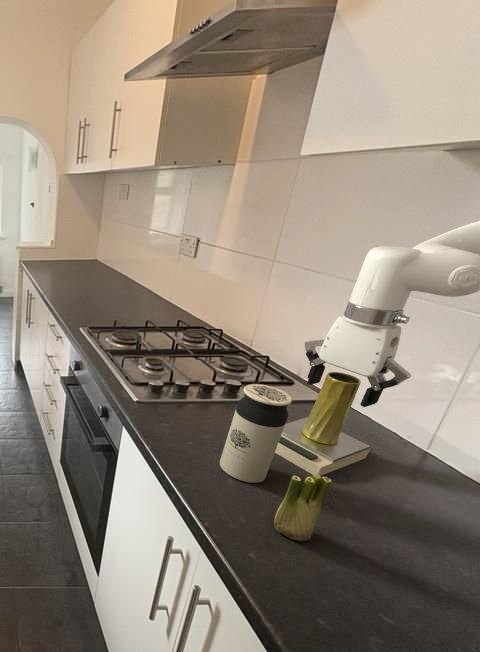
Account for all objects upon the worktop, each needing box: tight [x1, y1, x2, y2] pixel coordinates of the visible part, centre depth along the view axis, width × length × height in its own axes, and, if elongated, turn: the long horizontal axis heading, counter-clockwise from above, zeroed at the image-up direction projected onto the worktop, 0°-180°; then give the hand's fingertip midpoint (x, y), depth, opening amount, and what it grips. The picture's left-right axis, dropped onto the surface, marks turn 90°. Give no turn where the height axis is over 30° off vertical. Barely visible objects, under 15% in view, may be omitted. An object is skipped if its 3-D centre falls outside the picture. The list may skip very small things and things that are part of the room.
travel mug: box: [219, 383, 293, 484], centre depth 80 cm, size 8×8×18 cm
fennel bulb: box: [273, 474, 333, 542], centre depth 67 cm, size 6×5×12 cm
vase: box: [302, 371, 362, 444], centre depth 86 cm, size 6×6×14 cm
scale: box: [274, 435, 371, 477], centre depth 89 cm, size 16×12×3 cm
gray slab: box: [281, 416, 371, 463], centre depth 89 cm, size 12×12×1 cm
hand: (338, 393), depth 85 cm, fingers open, 9 cm apart
